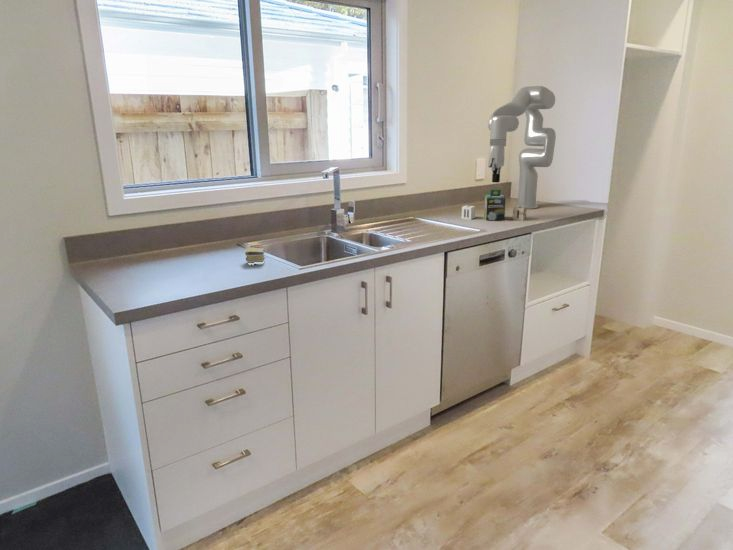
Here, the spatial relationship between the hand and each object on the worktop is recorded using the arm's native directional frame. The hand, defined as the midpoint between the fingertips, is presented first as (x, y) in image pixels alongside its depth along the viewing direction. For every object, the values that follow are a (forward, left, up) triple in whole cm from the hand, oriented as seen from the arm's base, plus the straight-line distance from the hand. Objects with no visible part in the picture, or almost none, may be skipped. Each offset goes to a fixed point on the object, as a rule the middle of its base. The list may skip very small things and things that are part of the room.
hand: (495, 182), depth 251 cm
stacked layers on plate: (+119, -46, -19) cm, 129 cm away
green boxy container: (0, 0, -18) cm, 18 cm away
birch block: (-5, +11, -18) cm, 22 cm away
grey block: (+4, -12, -18) cm, 22 cm away
